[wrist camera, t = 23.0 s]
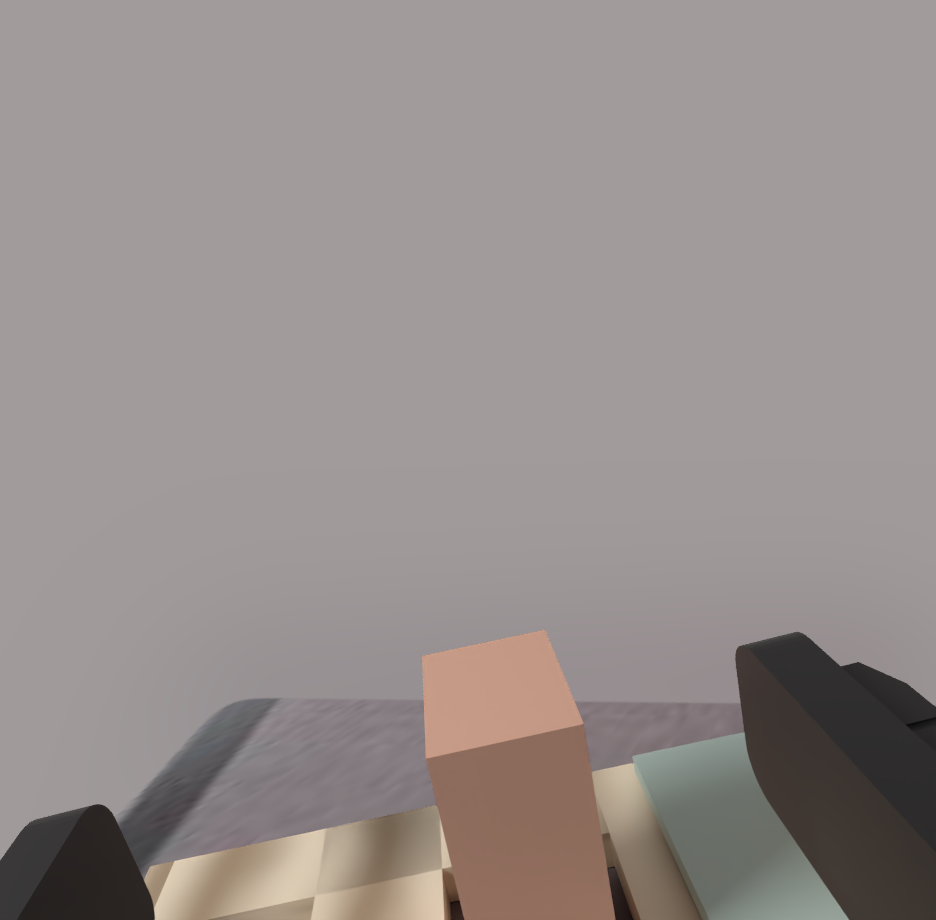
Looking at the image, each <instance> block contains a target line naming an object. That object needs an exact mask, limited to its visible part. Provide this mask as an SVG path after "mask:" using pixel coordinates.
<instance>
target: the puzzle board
mask: <svg viewBox="0 0 936 920" xmlns="http://www.w3.org/2000/svg"><path fill="white" fill-rule="evenodd" d="M592 778H593V784H594V791H595V797H596V803H597V809H598V815H599V821H600V827H601V834H602V840H603V846H604V852H605V858H606V864H607V868H610V867H614V866H615V868H616V871H617V874H618V877H619V880H620V883H621V886H622V888H623V891H624V894H625V897H626V900H627V903H628V906H629V909H630V912H631V914H632V917H633V920H702V918H701V916H700V913H699V911H698V909H697V907H696V905H695V902H694V900H693V898H692V896H691V894H690V892H689V889H688V887H687V885H686V883H685V881H684V878H683V876H682V874H681V872H680V870H679V867H678V865H677V863H676V861H675V859H674V857H673V854H672V852H671V850H670V848H669V846H668V843H667V841H666V839H665V837H664V835H663V832H662V830H661V828H660V826H659V824H658V822H657V819H656V817H655V815H654V813H653V811H652V808H651V806H650V804H649V802H648V800H647V797H646V795H645V793H644V791H643V789H642V787H641V784H640V782H639V780H638V778H637V776H636V773H635V769H634V763H631V764H626V765H622V766H617V767H612V768H608V769H603V770H598V771H594V772H592ZM144 882H145V884H146V886H147V888H148V890H149V892H150V895H151V898H152V901H153V905H154V912H155V920H451V907H450V902H454V901H458V900H460V899H459V895H458V891H457V887H456V883H455V878H454V874H453V870H452V866H451V862H450V857H449V853H448V849H447V845H446V841H445V836H444V832H443V828H442V824H441V820H440V815H439V811H438V807H437V805H435V806H430V807H425V808H421V809H416V810H411V811H407V812H402V813H397V814H393V815H388V816H383V817H379V818H374V819H369V820H365V821H360V822H355V823H351V824H346V825H341V826H337V827H332V828H327V829H323V830H318V831H313V832H309V833H304V834H299V835H295V836H290V837H285V838H281V839H276V840H271V841H267V842H262V843H257V844H253V845H248V846H243V847H239V848H234V849H229V850H225V851H220V852H215V853H210V854H206V855H201V856H196V857H192V858H187V859H182V860H178V861H173V862H168V863H164V864H159V865H154V866H150V868H149V870H148V873H147V875H146V877H145V879H144Z"/></svg>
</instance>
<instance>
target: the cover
mask: <svg viewBox="0 0 936 920" xmlns="http://www.w3.org/2000/svg"><path fill="white" fill-rule="evenodd" d="M633 762H634V769H635V773H636V776H637V778H638V780H639V782H640V784H641V787H642V789H643V791H644V793H645V795H646V797H647V800H648V802H649V804H650V806H651V808H652V811H653V813H654V815H655V817H656V819H657V822H658V824H659V826H660V828H661V830H662V832H663V835H664V837H665V839H666V841H667V843H668V846H669V848H670V850H671V852H672V854H673V857H674V859H675V861H676V863H677V865H678V867H679V870H680V872H681V874H682V876H683V878H684V881H685V883H686V885H687V887H688V889H689V892H690V894H691V896H692V898H693V900H694V902H695V905H696V907H697V909H698V911H699V913H700V916H701V918H702V920H849V919H848V918H847V916H846V915H845V913H844V912H843V910H842V909H841V907H840V906H839V904H838V903H837V902H836V900H835V899H834V897H833V896H832V894H831V893H830V891H829V890H828V888H827V887H826V885H825V884H824V883H823V881H822V880H821V878H820V877H819V875H818V874H817V872H816V871H815V869H814V868H813V866H812V865H811V864H810V862H809V861H808V859H807V858H806V856H805V855H804V853H803V852H802V850H801V849H800V848H799V846H798V845H797V843H796V842H795V840H794V839H793V837H792V836H791V834H790V833H789V831H788V830H787V829H786V827H785V826H784V824H783V823H782V821H781V820H780V818H779V817H778V815H777V814H776V812H775V811H774V810H773V808H772V807H771V805H770V804H769V802H768V801H767V799H766V797H765V795H764V794H763V792H762V790H761V788H760V786H759V784H758V781H757V779H756V777H755V774H754V772H753V769H752V766H751V763H750V760H749V756H748V752H747V747H746V740H745V732H743V733H738V734H733V735H729V736H724V737H719V738H714V739H710V740H705V741H700V742H696V743H691V744H686V745H682V746H677V747H672V748H668V749H663V750H658V751H654V752H649V753H644V754H640V755H635V756H633Z"/></svg>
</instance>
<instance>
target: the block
mask: <svg viewBox="0 0 936 920" xmlns="http://www.w3.org/2000/svg"><path fill="white" fill-rule="evenodd" d="M422 662H423V690H424V717H425V745H426V761H427V765H428V769H429V773H430V777H431V782H432V786H433V790H434V794H435V799H436V803H437V807H438V811H439V815H440V820H441V824H442V828H443V832H444V836H445V841H446V845H447V849H448V853H449V857H450V862H451V866H452V870H453V874H454V878H455V883H456V887H457V891H458V895H459V899H460V904H461V908H462V912H463V916H464V920H615V913H614V907H613V901H612V895H611V889H610V883H609V877H608V870H607V864H606V858H605V852H604V846H603V840H602V834H601V827H600V821H599V815H598V809H597V803H596V797H595V791H594V784H593V778H592V772H591V766H590V760H589V754H588V748H587V741H586V735H585V729H584V724H583V721H582V719H581V716H580V714H579V711H578V709H577V706H576V704H575V702H574V699H573V697H572V694H571V692H570V689H569V687H568V684H567V682H566V680H565V677H564V675H563V672H562V670H561V667H560V665H559V662H558V660H557V657H556V655H555V653H554V650H553V648H552V645H551V643H550V640H549V638H548V635H547V633H546V631H545V630H541V631H537V632H532V633H527V634H523V635H518V636H514V637H509V638H504V639H499V640H495V641H490V642H485V643H481V644H476V645H471V646H467V647H462V648H457V649H452V650H448V651H443V652H438V653H434V654H429V655H424V656H422Z"/></svg>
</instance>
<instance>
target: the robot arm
mask: <svg viewBox="0 0 936 920" xmlns="http://www.w3.org/2000/svg"><path fill="white" fill-rule="evenodd" d="M736 669H737V677H738V684H739V692H740V700H741V708H742V716H743V724H744V732H745V740H746V747H747V752H748V756H749V760H750V763H751V766H752V769H753V772H754V774H755V777H756V779H757V781H758V784H759V786H760V788H761V790H762V792H763V794H764V795H765V797H766V799H767V801H768V802H769V804H770V805H771V807H772V808H773V810H774V811H775V812H776V814H777V815H778V817H779V818H780V820H781V821H782V823H783V824H784V826H785V827H786V829H787V830H788V831H789V833H790V834H791V836H792V837H793V839H794V840H795V842H796V843H797V845H798V846H799V848H800V849H801V850H802V852H803V853H804V855H805V856H806V858H807V859H808V861H809V862H810V864H811V865H812V866H813V868H814V869H815V871H816V872H817V874H818V875H819V877H820V878H821V880H822V881H823V883H824V884H825V885H826V887H827V888H828V890H829V891H830V893H831V894H832V896H833V897H834V899H835V900H836V902H837V903H838V904H839V906H840V907H841V909H842V910H843V912H844V913H845V915H846V916H847V918H848V919H849V920H936V707H935V706H934V705H932V704H931V703H930V702H929V701H927V700H926V699H925V698H924V697H922V696H921V695H920V694H919V693H918V692H916V691H915V690H914V689H913V688H911V687H910V686H909V685H908V684H907V683H904V682H902V681H900V680H897V679H895V678H893V677H891V676H889V675H886V674H884V673H882V672H880V671H877V670H875V669H873V668H870V667H868V666H866V665H864V664H861V663H859V662H857V663H853V664H850V665H845V666H839V665H838V664H837V663H836V662H835V661H834V660H833V659H832V658H831V657H829V656H828V655H827V654H826V653H825V652H824V651H823V650H822V649H821V648H819V647H818V646H817V645H816V644H815V643H814V642H813V641H812V640H811V639H809V638H808V637H807V636H806V635H804V634H802V633H800V632H794V633H791V634H786V635H782V636H778V637H774V638H770V639H766V640H762V641H758V642H754V643H750V644H746V645H742V646H739V647H738V648H737V650H736ZM0 920H155V912H154V905H153V901H152V898H151V895H150V892H149V890H148V888H147V886H146V884H145V882H144V879H143V877H142V875H141V873H140V871H139V869H138V867H137V864H136V862H135V860H134V858H133V856H132V854H131V852H130V849H129V847H128V845H127V843H126V841H125V839H124V837H123V834H122V832H121V830H120V828H119V826H118V824H117V822H116V819H115V817H114V816H113V814H112V812H110V810H109V809H108V808H107V807H105V806H103V805H99V804H97V805H92V806H88V807H84V808H80V809H76V810H72V811H69V812H64V813H60V814H56V815H52V816H48V817H44V818H40V819H37V820H34V821H32V822H30V823H29V824H28V825H27V826H25V827H24V829H23V830H22V831H21V832H20V833H19V835H18V836H17V838H16V839H15V841H14V842H13V843H12V845H11V846H10V848H9V849H8V850H7V852H6V853H5V855H4V856H3V858H2V859H1V860H0Z"/></svg>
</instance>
